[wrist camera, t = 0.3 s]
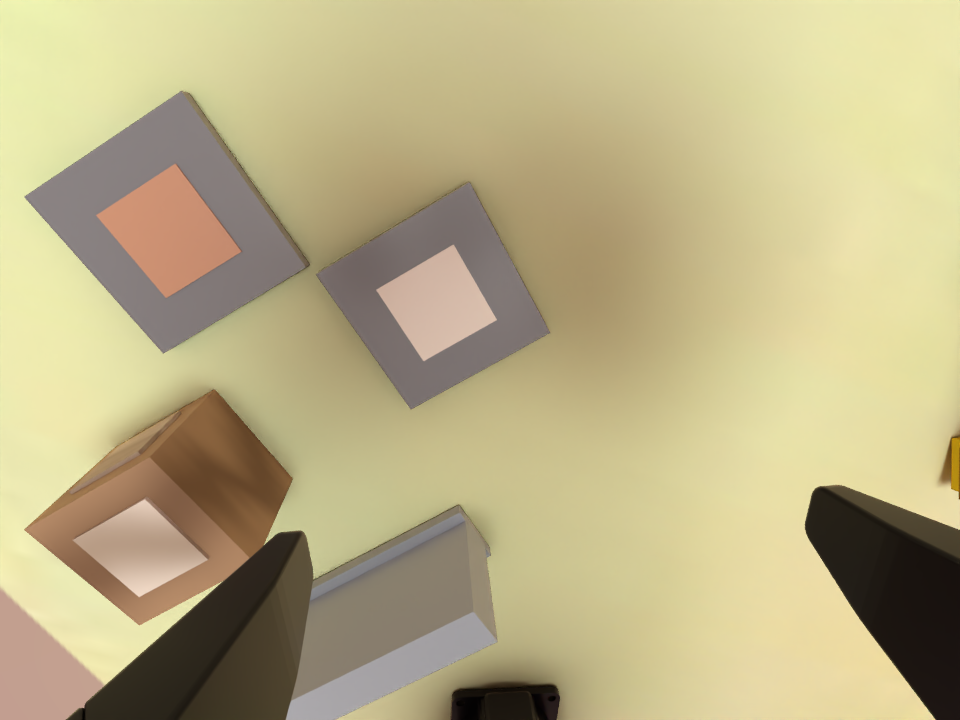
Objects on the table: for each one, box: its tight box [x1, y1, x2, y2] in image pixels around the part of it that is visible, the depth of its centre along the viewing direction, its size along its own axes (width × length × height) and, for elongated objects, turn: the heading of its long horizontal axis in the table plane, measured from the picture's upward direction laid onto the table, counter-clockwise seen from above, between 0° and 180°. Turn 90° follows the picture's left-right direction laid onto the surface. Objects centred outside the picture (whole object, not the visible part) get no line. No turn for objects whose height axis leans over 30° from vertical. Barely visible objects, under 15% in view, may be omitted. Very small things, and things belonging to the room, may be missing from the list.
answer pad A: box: [316, 182, 550, 409], centre depth 21 cm, size 7×7×1 cm
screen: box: [286, 505, 498, 720], centre depth 24 cm, size 12×3×6 cm, turn 119°
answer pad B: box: [25, 91, 309, 353], centre depth 19 cm, size 7×7×1 cm
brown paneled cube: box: [24, 389, 293, 625], centre depth 21 cm, size 6×6×6 cm
